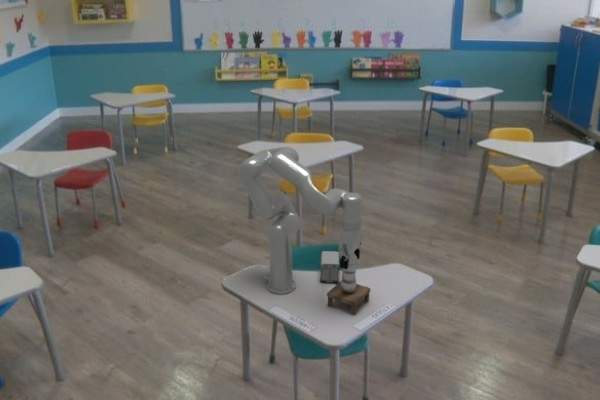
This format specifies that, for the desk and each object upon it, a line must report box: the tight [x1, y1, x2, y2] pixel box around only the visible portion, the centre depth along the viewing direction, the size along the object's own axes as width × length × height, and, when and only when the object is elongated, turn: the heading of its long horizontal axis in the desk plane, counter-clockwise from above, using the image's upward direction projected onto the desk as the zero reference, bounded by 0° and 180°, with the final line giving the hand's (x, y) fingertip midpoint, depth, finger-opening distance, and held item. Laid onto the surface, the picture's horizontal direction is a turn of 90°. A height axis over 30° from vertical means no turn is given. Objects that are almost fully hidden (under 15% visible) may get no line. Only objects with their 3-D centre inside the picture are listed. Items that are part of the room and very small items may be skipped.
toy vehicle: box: [319, 250, 340, 284], centre depth 255 cm, size 10×17×10 cm, turn 176°
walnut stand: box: [326, 280, 371, 316], centre depth 234 cm, size 13×13×6 cm
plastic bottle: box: [340, 251, 358, 293], centre depth 228 cm, size 6×7×20 cm
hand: (349, 263), depth 227 cm, fingers open, 9 cm apart
